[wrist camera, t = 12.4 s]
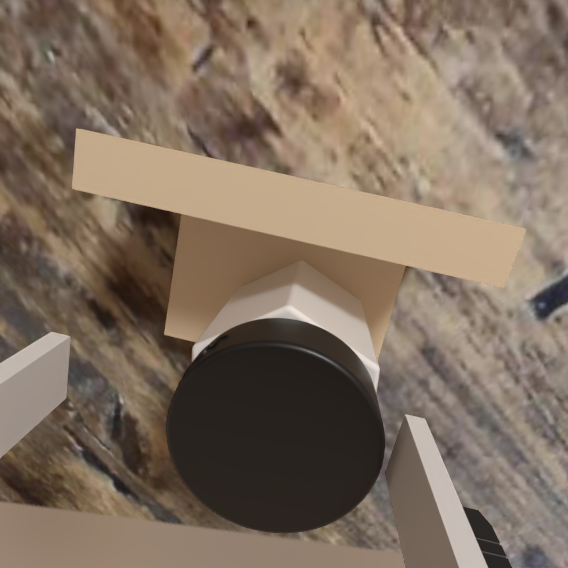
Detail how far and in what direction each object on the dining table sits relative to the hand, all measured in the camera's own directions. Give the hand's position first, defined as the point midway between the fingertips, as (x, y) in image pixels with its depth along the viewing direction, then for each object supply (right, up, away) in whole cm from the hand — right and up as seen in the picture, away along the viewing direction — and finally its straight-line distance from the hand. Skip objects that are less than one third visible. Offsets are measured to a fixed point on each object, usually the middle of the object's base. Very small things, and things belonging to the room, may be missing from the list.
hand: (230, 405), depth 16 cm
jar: (+3, +2, +11) cm, 11 cm away
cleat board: (+2, +6, +12) cm, 14 cm away
